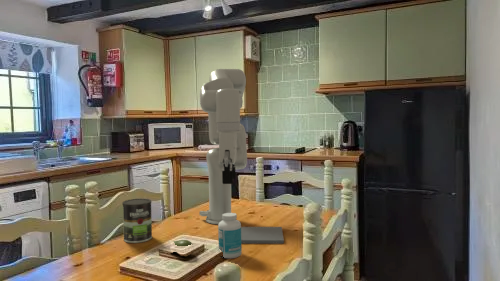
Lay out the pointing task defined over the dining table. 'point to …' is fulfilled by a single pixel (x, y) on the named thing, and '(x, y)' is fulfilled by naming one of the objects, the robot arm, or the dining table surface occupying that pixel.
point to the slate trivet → (262, 235)
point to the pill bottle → (230, 236)
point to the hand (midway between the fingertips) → (229, 181)
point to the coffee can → (137, 220)
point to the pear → (182, 243)
